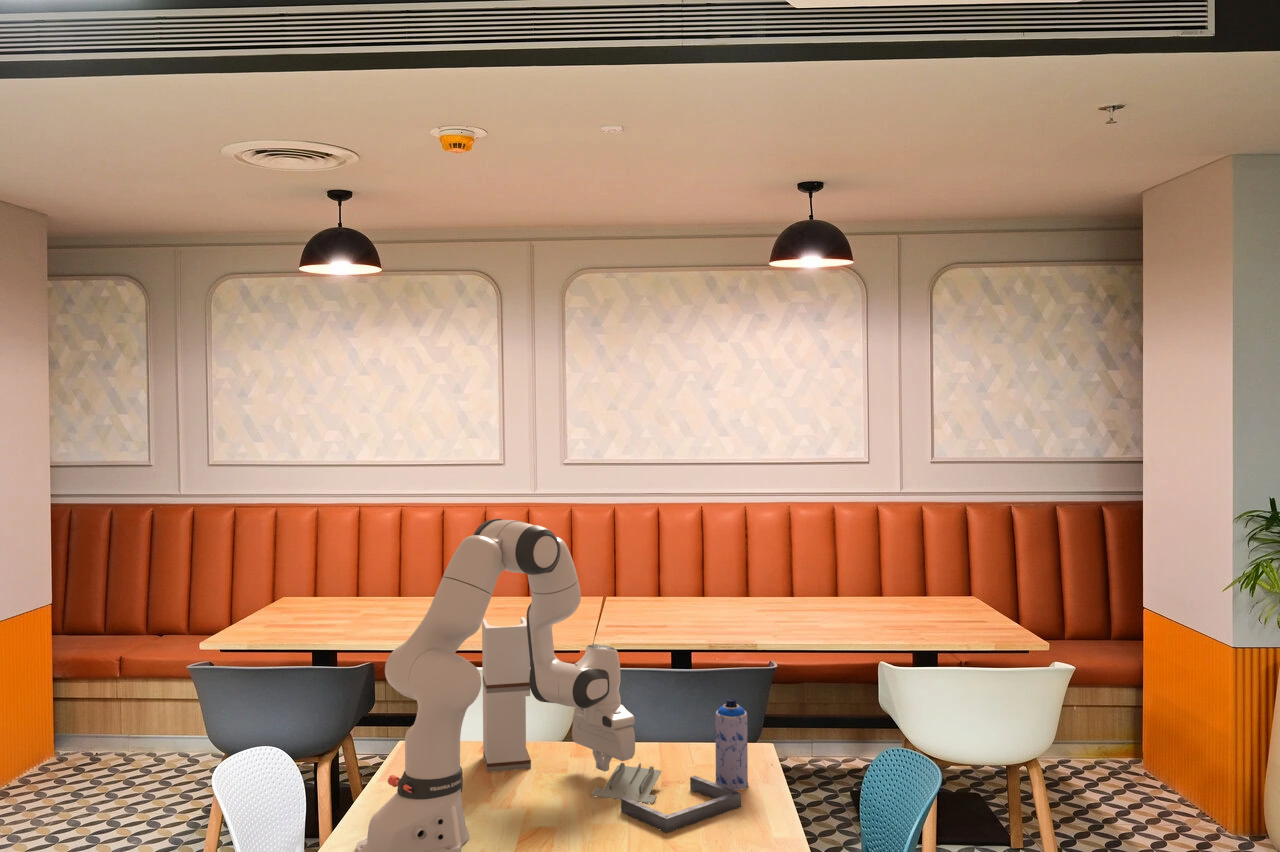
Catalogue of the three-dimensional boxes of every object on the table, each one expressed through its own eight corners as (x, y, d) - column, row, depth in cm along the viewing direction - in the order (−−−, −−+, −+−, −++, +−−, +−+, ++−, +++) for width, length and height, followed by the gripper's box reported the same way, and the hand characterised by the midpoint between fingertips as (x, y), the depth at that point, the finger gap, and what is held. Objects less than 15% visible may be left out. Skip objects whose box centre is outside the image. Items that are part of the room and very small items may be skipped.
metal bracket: (610, 755, 249) (670, 762, 244) (613, 776, 251) (672, 784, 245) (587, 792, 236) (650, 800, 231) (590, 814, 238) (652, 822, 232)
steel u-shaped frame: (666, 833, 216) (666, 818, 216) (621, 812, 228) (621, 798, 228) (741, 806, 230) (741, 793, 230) (695, 788, 242) (695, 775, 242)
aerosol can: (755, 785, 243) (755, 699, 243) (731, 793, 238) (731, 706, 238) (731, 776, 250) (731, 693, 249) (707, 784, 245) (707, 699, 244)
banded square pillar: (530, 768, 256) (529, 625, 256) (487, 772, 254) (485, 628, 254) (525, 753, 268) (524, 617, 267) (483, 757, 265) (482, 619, 265)
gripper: (565, 705, 256) (566, 761, 256) (618, 724, 241) (618, 783, 241) (586, 700, 260) (586, 756, 260) (639, 718, 245) (639, 777, 245)
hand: (602, 769), depth 250 cm, fingers closed
